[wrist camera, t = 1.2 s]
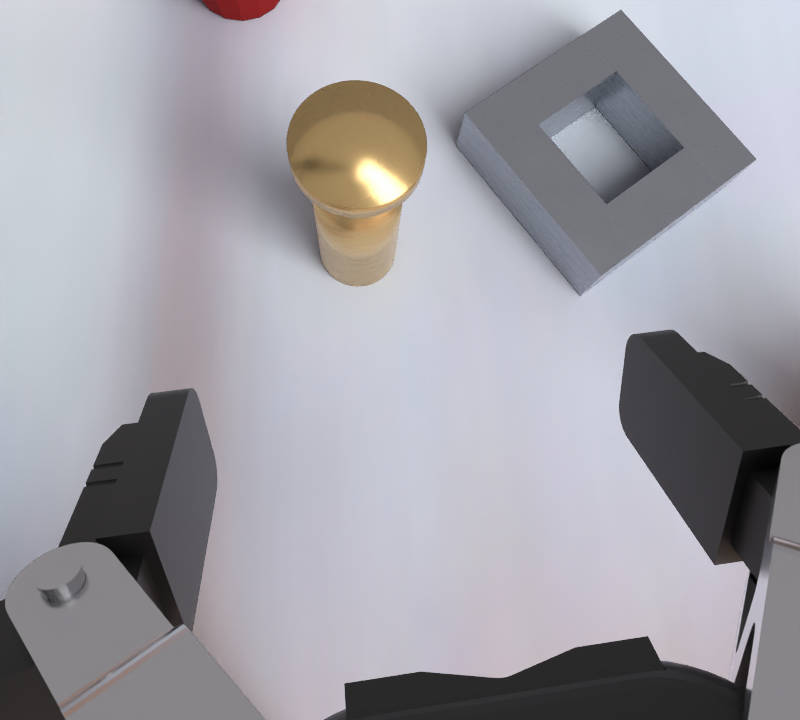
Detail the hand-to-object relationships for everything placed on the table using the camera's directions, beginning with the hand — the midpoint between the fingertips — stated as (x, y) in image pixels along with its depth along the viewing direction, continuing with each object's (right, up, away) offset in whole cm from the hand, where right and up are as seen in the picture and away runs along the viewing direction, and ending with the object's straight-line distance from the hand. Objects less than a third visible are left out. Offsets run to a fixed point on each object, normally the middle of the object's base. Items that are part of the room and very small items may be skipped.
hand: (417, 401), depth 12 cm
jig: (+12, +13, +29) cm, 34 cm away
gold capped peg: (-3, +7, +27) cm, 28 cm away
